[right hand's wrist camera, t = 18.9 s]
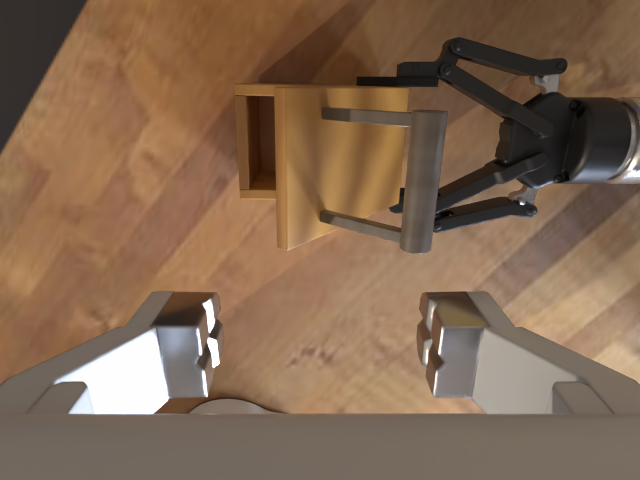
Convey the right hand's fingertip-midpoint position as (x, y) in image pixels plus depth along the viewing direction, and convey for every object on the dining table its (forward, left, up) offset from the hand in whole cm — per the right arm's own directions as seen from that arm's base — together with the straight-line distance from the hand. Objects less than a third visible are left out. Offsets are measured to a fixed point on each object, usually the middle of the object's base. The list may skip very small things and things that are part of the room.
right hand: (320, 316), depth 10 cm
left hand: (-1, -3, -29) cm, 29 cm away
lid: (-1, -2, -20) cm, 20 cm away
